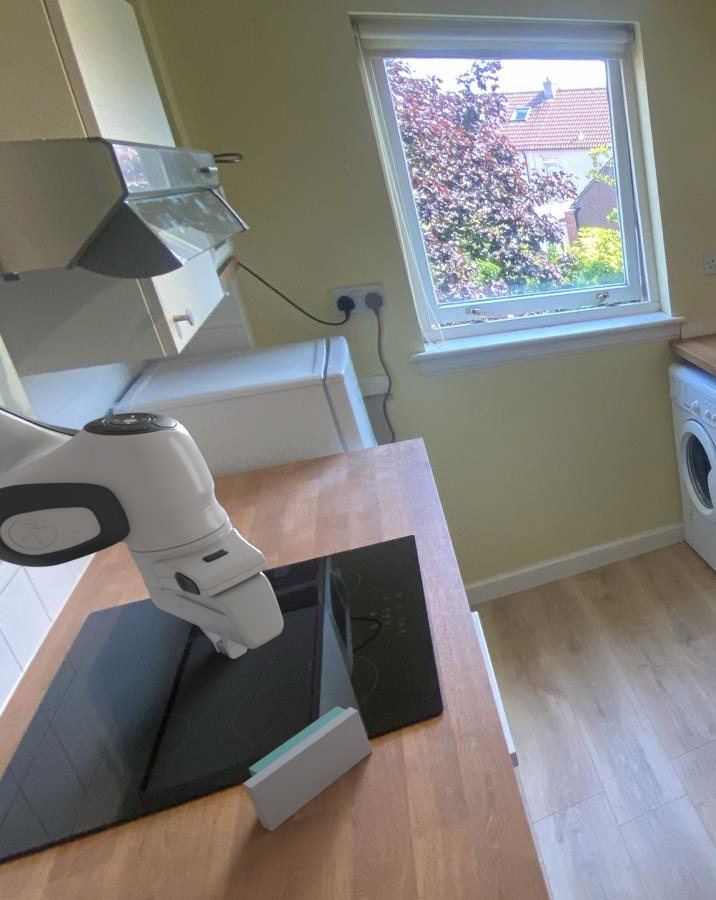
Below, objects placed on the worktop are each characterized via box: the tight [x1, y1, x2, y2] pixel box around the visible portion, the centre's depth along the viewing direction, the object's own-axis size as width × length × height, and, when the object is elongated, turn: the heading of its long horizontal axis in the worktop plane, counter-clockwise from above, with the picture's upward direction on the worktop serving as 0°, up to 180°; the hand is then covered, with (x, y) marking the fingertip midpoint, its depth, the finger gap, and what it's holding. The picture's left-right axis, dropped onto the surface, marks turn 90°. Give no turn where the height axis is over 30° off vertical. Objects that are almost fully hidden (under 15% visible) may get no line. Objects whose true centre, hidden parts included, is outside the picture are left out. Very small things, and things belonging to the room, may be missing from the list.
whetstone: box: [242, 706, 373, 832], centre depth 90 cm, size 13×5×7 cm, turn 154°
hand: (233, 652), depth 86 cm, fingers closed
